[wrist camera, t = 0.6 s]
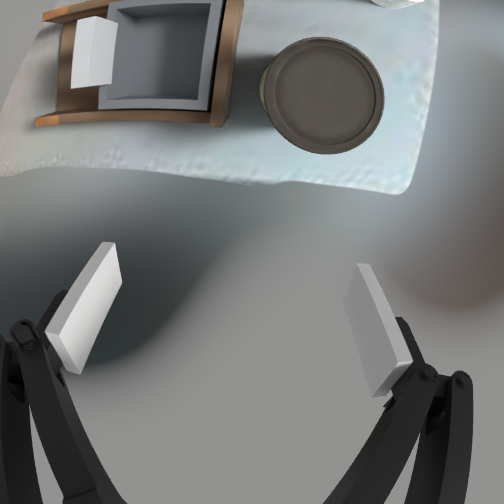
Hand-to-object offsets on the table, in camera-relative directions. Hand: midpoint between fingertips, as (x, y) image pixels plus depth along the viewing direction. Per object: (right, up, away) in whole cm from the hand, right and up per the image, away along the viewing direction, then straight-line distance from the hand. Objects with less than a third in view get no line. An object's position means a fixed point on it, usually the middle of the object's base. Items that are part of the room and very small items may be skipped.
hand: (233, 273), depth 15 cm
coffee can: (+7, +21, +17) cm, 28 cm away
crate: (-9, +25, +13) cm, 29 cm away
